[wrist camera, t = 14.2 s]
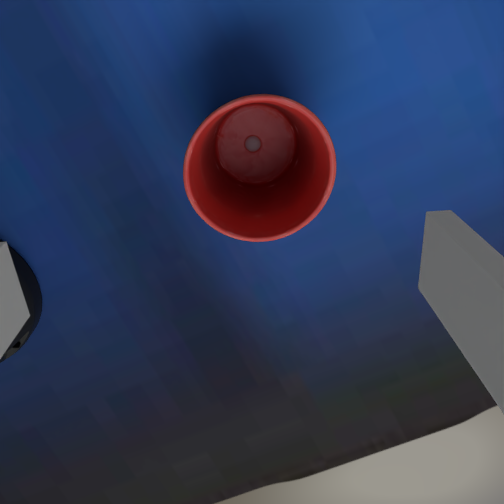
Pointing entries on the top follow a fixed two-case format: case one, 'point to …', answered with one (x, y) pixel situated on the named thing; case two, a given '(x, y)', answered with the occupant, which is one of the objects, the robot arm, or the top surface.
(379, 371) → the top surface
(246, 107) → the flower pot
